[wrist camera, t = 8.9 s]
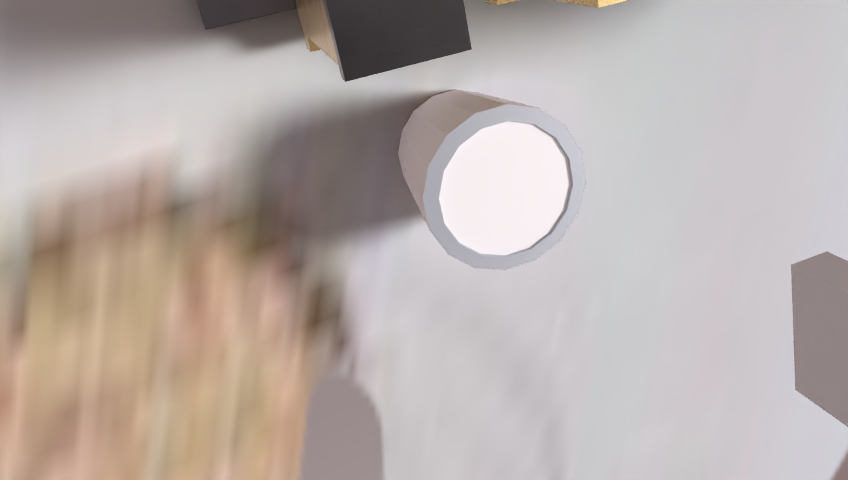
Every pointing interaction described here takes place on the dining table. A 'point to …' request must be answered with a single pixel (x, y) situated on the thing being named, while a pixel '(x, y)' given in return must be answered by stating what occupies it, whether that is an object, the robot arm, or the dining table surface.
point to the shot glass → (491, 177)
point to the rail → (239, 10)
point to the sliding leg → (383, 32)
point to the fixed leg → (587, 0)
